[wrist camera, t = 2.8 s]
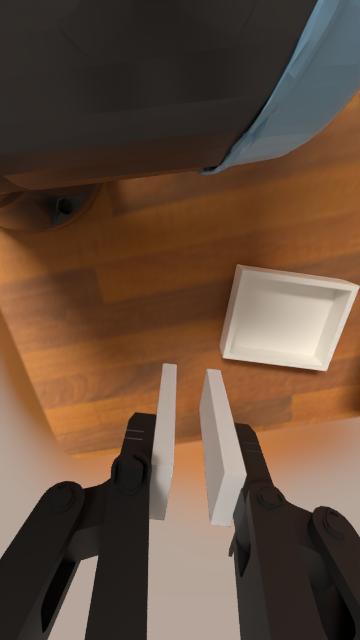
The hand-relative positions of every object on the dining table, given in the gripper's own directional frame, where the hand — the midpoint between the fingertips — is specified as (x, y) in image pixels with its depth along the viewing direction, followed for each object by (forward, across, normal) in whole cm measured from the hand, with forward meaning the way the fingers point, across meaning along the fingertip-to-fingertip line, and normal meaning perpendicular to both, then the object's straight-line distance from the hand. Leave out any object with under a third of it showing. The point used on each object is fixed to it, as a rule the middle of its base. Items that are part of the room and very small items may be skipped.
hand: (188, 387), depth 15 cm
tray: (+16, +11, 0) cm, 20 cm away
